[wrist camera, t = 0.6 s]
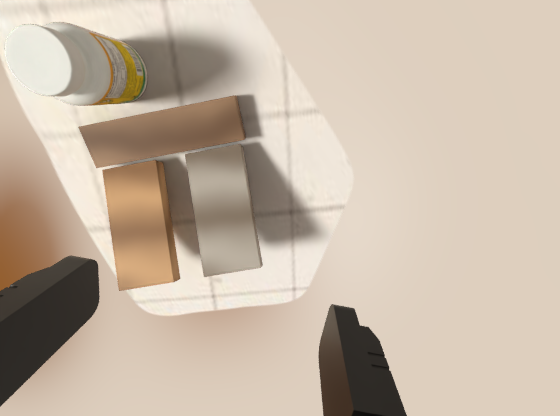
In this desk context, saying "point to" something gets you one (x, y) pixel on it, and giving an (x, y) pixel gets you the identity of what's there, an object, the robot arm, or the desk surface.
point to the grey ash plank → (223, 210)
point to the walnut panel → (164, 132)
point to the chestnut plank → (141, 225)
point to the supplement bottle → (75, 64)
